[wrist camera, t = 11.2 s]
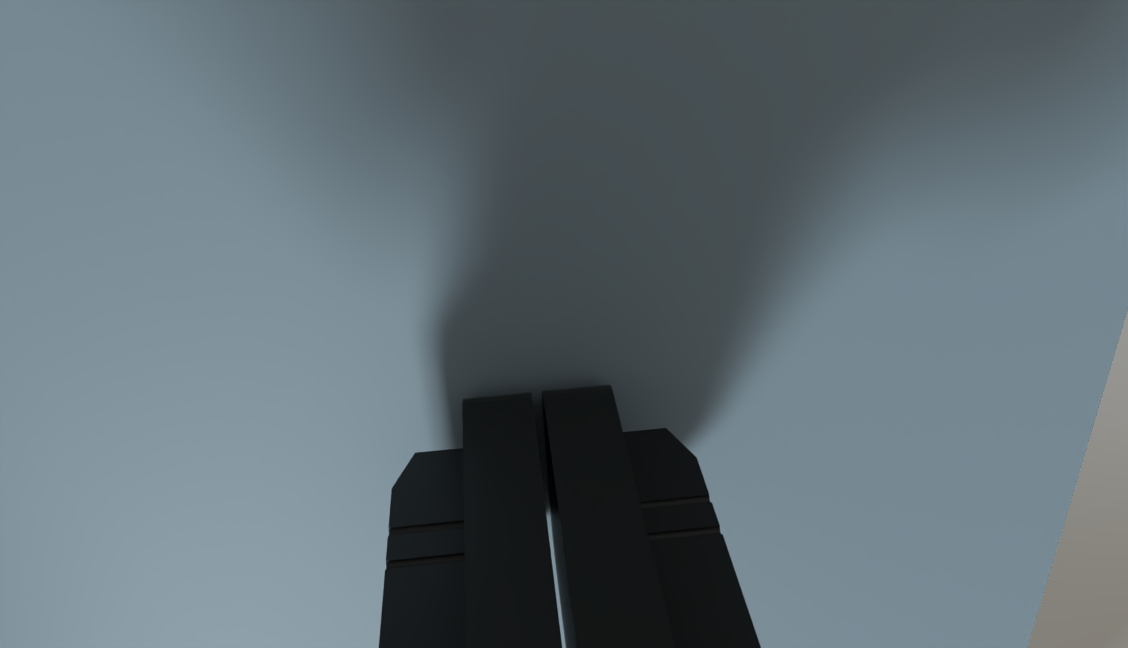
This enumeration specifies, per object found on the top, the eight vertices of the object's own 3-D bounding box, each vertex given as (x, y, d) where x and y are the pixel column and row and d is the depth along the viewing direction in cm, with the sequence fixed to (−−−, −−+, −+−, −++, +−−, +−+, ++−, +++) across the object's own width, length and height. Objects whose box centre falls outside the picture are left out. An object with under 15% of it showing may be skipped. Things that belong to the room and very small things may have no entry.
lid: (-872, -545, 7) (-1142, -598, 6) (1282, -639, 7) (1429, -702, 6) (-7, 848, 15) (-44, 936, 14) (939, 752, 16) (973, 829, 15)
